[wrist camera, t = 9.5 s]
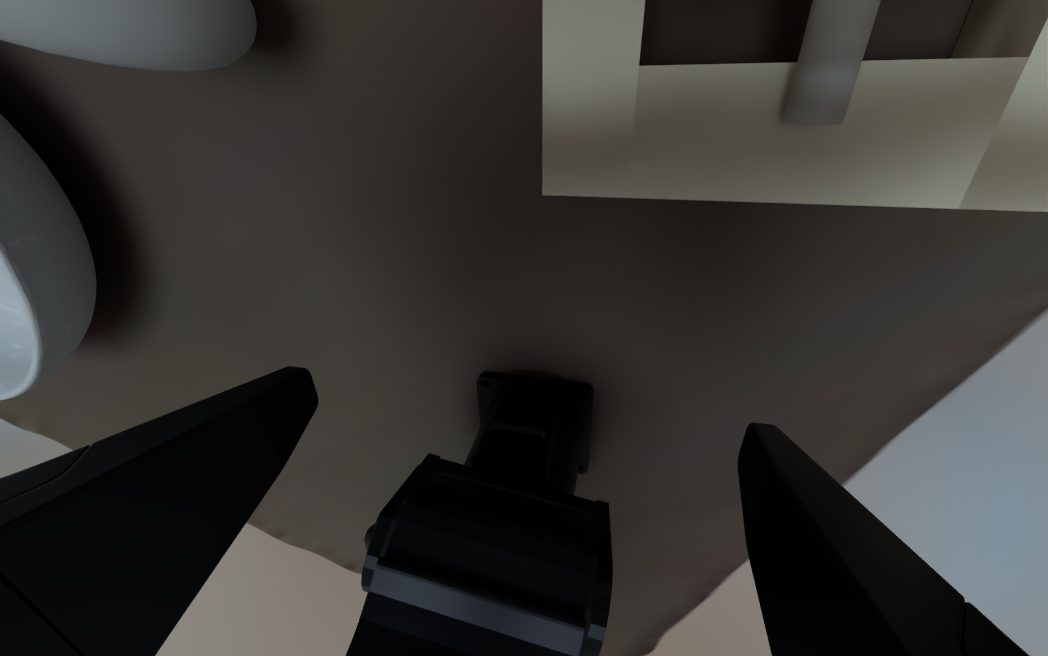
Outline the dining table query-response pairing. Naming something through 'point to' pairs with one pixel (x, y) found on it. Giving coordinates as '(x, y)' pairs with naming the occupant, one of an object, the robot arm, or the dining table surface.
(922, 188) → the grey square tray
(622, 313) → the dining table surface
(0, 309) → the serving bowl
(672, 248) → the dining table surface
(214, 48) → the donut
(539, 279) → the dining table surface
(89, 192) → the dining table surface
